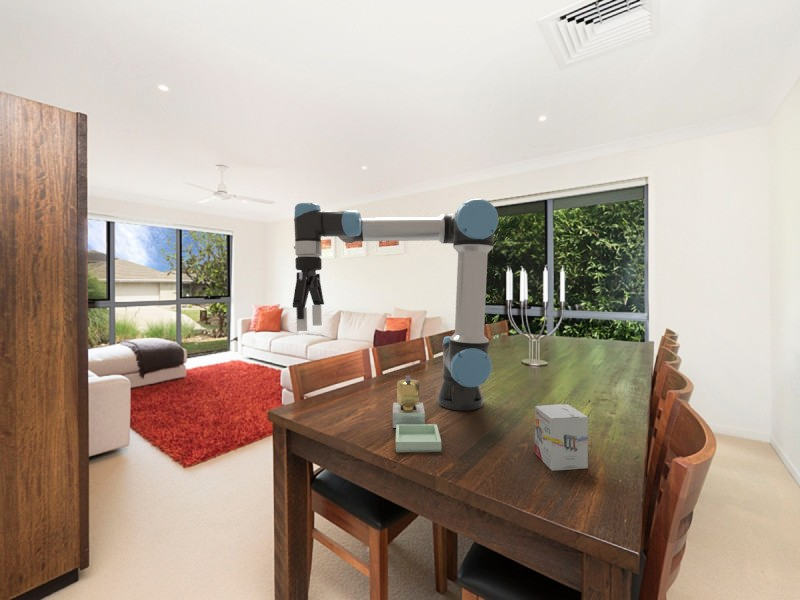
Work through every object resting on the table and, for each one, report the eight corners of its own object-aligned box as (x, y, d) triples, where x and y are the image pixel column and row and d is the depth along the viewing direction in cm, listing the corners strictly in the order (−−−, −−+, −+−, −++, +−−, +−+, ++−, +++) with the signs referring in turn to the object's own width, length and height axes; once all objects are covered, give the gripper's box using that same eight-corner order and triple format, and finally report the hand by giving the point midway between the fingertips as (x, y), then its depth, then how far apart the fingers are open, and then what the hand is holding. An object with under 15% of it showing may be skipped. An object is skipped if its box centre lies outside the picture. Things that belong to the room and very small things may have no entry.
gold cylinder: (418, 418, 108) (418, 375, 108) (419, 427, 102) (419, 380, 101) (397, 418, 108) (397, 375, 108) (397, 427, 102) (397, 381, 101)
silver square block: (422, 417, 109) (422, 402, 109) (424, 428, 100) (424, 413, 100) (393, 417, 109) (393, 402, 109) (392, 428, 100) (392, 413, 100)
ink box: (533, 452, 86) (533, 404, 85) (567, 451, 87) (568, 402, 86) (551, 471, 77) (551, 417, 77) (589, 469, 78) (589, 415, 77)
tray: (436, 433, 97) (436, 424, 97) (441, 452, 86) (441, 441, 86) (396, 433, 97) (396, 424, 97) (395, 452, 86) (395, 442, 86)
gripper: (310, 260, 119) (311, 323, 120) (278, 253, 94) (280, 333, 95) (332, 259, 119) (333, 323, 120) (306, 252, 94) (308, 333, 95)
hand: (310, 328), depth 107 cm, fingers open, 13 cm apart
